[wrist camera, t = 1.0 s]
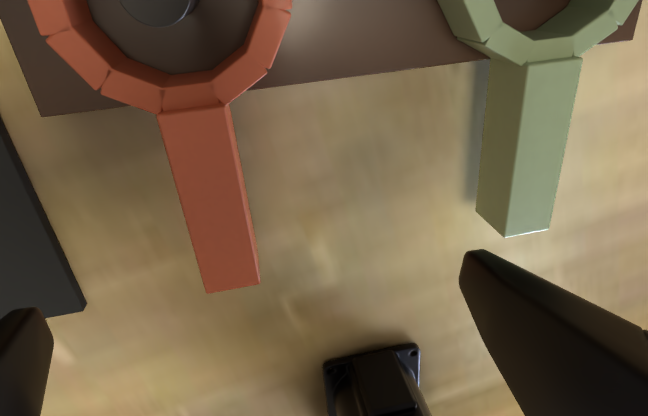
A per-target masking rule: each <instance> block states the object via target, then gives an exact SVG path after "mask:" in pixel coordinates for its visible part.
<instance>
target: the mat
mask: <svg viewBox="0 0 648 416" xmlns="http://www.w3.org/2000/svg"><path fill="white" fill-rule="evenodd" d="M86 304H87V303H86V301H85V299H84V297H83V295H82V292H81V290H80V288H79V286H78V284H77V282H76V280H75V277H74V275H73V273H72V271H71V269H70V267H69V264H68V262H67V260H66V258H65V256H64V254H63V252H62V249H61V247H60V245H59V243H58V241H57V239H56V237H55V234H54V232H53V230H52V228H51V226H50V224H49V221H48V219H47V217H46V215H45V213H44V211H43V209H42V206H41V204H40V202H39V200H38V198H37V196H36V193H35V191H34V189H33V187H32V185H31V183H30V181H29V178H28V176H27V174H26V172H25V170H24V168H23V165H22V163H21V161H20V159H19V157H18V155H17V153H16V150H15V148H14V146H13V144H12V142H11V140H10V137H9V135H8V133H7V131H6V129H5V127H4V125H3V122H2V120H1V118H0V319H1V318H3V317H4V316H5V315H6V314H8V313H9V312H10V311H12V310H15V309H20V308H28V307H37V308H39V309H40V310H41V312H42V314H43V316H44V318H49V317H54V316H59V315H65V314H70V313H75V312H81V311H84V309H85V306H86Z"/></svg>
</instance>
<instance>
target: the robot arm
mask: <svg viewBox="0 0 648 416" xmlns="http://www.w3.org/2000/svg"><path fill="white" fill-rule="evenodd" d="M459 286H460V289H461V291H462V294H463V296H464V298H465V301H466V303H467V305H468V307H469V310H470V312H471V314H472V317H473V319H474V321H475V324H476V326H477V328H478V330H479V333H480V335H481V337H482V339H483V341H484V344H485V346H486V347H487V349H488V351H489V353H490V355H491V357H492V358H493V360H494V362H495V364H496V365H497V367H498V369H499V371H500V372H501V374H502V376H503V378H504V379H505V381H506V383H507V385H508V387H509V388H510V390H511V392H512V394H513V395H514V397H515V399H516V401H517V402H518V404H519V406H520V408H521V409H522V411H523V413H524V415H525V416H648V331H647V330H642V328H641V327H639V326H637V325H635V324H633V323H631V322H629V321H627V320H625V319H623V318H621V317H619V316H617V315H615V314H613V313H611V312H609V311H607V310H605V309H603V308H601V307H599V306H597V305H595V304H593V303H591V302H589V301H587V300H585V299H583V298H581V297H579V296H577V295H575V294H573V293H571V292H569V291H567V290H565V289H563V288H561V287H559V286H557V285H555V284H553V283H551V282H549V281H547V280H545V279H543V278H541V277H539V276H537V275H535V274H533V273H531V272H529V271H527V270H525V269H523V268H521V267H519V266H517V265H515V264H513V263H511V262H509V261H507V260H505V259H503V258H501V257H499V256H497V255H495V254H493V253H491V252H489V251H486V250H484V249H479V250H471V251H468V252H466V253H465V255H464V258H463V263H462V267H461V271H460V275H459ZM53 347H54V340H53V336H52V333H51V331H50V329H49V327H48V324H47V322H46V320H45V318H44V316H43V314H42V312H41V310H40V309H39V308H37V307H28V308H20V309H15V310H12V311H10V312H9V313H8V314H6V315H5V316H4V317H3V318H1V319H0V416H40V414H41V410H42V405H43V399H44V394H45V389H46V384H47V379H48V373H49V368H50V363H51V358H52V352H53ZM331 368H332V369H331ZM322 369H323V377H324V385H325V393H326V401H327V409H328V416H432V415H431V413H430V411H429V408H428V406H427V404H426V402H425V400H424V398H423V396H422V393H421V391H420V389H419V377H420V349H419V347H418V345H417V344H415V343H410V344H406V345H401V346H396V347H392V348H387V349H383V350H378V351H373V352H369V353H364V354H359V355H355V356H350V357H345V358H341V359H336V360H332V361H328V362H326V363H324V365H323V367H322Z"/></svg>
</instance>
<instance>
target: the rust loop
mask: <svg viewBox="0 0 648 416" xmlns="http://www.w3.org/2000/svg"><path fill="white" fill-rule="evenodd" d="M27 1H28V4H29V6H30V9H31V12H32V14H33V17H34V19H35V22H36V25H37V27H38V30H39V33H40V35H41V36H48V35H50V36H49V37H48V38H47V39H46V43H47V44H48V45H49V46H50V47H51V48H52V49H53V50H54V51H55V52H56V53H57V54H58V55H59V56H60V57H62V58H63V59H64V60H65V61H66V62H67V63H68V64H69V65H70V66H71V67H72V68H73V69H74V70H75V71H76V72H77V73H78V74H79V75H80V76H81V77H82V78H83V79H84V80H85V81H86V82H87V83H88V84H89V85H90V86H91V87H92V88H93V89H94V90H99V89H100V88H101V87H102V88H101V92H100V93H101V95H104V96H106V97H109V98H112V99H115V100H117V101H120V102H123V103H126V104H129V105H131V106H134V107H137V108H140V109H142V110H145V111H148V112H151V113H154V114H156V115H157V116H156V118H157V121H158V125H159V128H160V132H161V135H162V139H163V142H164V146H165V149H166V153H167V157H168V160H169V164H170V167H171V171H172V174H173V178H174V181H175V185H176V188H177V192H178V195H179V199H180V203H181V206H182V210H183V213H184V217H185V220H186V224H187V227H188V231H189V234H190V238H191V241H192V245H193V248H194V252H195V256H196V259H197V263H198V266H199V270H200V273H201V277H202V280H203V284H204V287H205V291H206V293H207V294H209V293H214V292H220V291H225V290H230V289H236V288H241V287H246V286H252V285H257V284H260V282H261V280H260V270H259V259H258V249H257V244H256V239H255V234H254V229H253V224H252V219H251V214H250V208H249V203H248V198H247V193H246V188H245V183H244V178H243V173H242V167H241V162H240V157H239V152H238V147H237V142H236V137H235V132H234V126H233V121H232V116H231V111H230V106H229V103H231V102H232V101H233V100H234V99H236V98H237V97H238V96H239V95H241V94H242V93H243V92H244V91H246V90H247V89H248V88H250V87H251V86H252V85H253V84H255V83H256V82H257V81H258V80H260V79H261V78H262V77H263V76H265V75H266V74H267V71H266V68H268V69H270V68H271V67H272V64H273V61H274V59H275V56H276V54H277V51H278V48H279V46H280V43H281V41H282V38H283V36H284V33H285V30H286V28H287V25H288V23H289V20H290V18H291V13H290V12H288V11H286V10H288V9H292V0H258V6H257V9H256V12H255V14H254V17H253V20H252V23H251V26H250V28H249V31H248V34H247V37H246V40H245V42H244V45H242V46H241V47H240V48H239V49H237V50H236V51H235V52H234V53H232V54H231V55H230V56H229V57H228V58H226V59H225V60H224V61H223V62H221V63H220V64H219V65H218V66H216V67H215V68H214V69H213V70H207V71H199V72H191V73H183V74H175V75H170V74H167V73H164V72H162V71H159V70H157V69H154V68H152V67H149V66H147V65H144V64H142V63H139V62H137V61H134V60H132V59H129V58H127V57H126V56H125V55H124V54H123V53H122V52H121V51H120V50H119V48H118V47H117V46H116V45H115V44H114V43H113V42H112V41H111V40H110V39H109V38H108V37H107V36H106V34H105V33H104V32H103V31H102V30H101V29H100V28H99V27H98V26H97V25H96V24H95V23H94V22H93V20H92V17H91V14H90V11H89V7H88V4H87V1H86V0H27Z"/></svg>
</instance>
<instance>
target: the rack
mask: <svg viewBox="0 0 648 416" xmlns="http://www.w3.org/2000/svg"><path fill="white" fill-rule="evenodd" d="M86 1H87V4H88V7H89V11H90V14H91V17H92V20H93V22H94V23H95V24H96V25H97V26H98V27H99V28H100V29H101V30H102V31H103V32H104V33H105V34H106V36H107V37H108V38H109V39H110V40H111V41H112V42H113V43H114V44H115V45H116V46H117V47H118V48H119V50H120V51H121V52H122V53H123V54H124V55H125V56H126V57H127V58H129V59H132V60H134V61H137V62H139V63H142V64H144V65H147V66H149V67H152V68H154V69H157V70H159V71H162V72H164V73H167V74H170V75H175V74H183V73H191V72H199V71H207V70H213V69H214V68H215V67H216V66H218V65H219V64H220V63H221V62H223V61H224V60H225V59H226V58H228V57H229V56H230V55H231V54H232V53H234V52H235V51H236V50H237V49H239V48H240V47H241V46H242V45H244V42H245V40H246V37H247V34H248V31H249V28H250V26H251V23H252V20H253V17H254V14H255V12H256V9H257V6H258V0H86ZM570 1H571V0H494V2H495V5H496V7H497V10H498V12H499V14H500V17H501V19H502V22H504V23H505V24H507V25H509V26H510V27H512V28H514V29H515V30H517V31H519V32H524V31H532V30H536V29H537V28H539V27H540V26H542V25H543V24H544V23H546V22H547V21H548V20H550V19H551V18H553V17H554V16H555V15H557V14H558V13H559V12H561V11H562V10H563V9H565V8H566V7H567V6H568V4H569V2H570ZM641 4H642V0H639V1H638V2H637V4H636V5H635V7H634V8H633V10H632V11H631V13H630V14H629V16H628V17H627V19H626V20H625V22H624V23H623V25H617V26H618V29H617V30H616V31H614V32H613V33H611V34H610V35H609V36H607V37H606V38H604V39H603V40H602V41H600V42H599V43H597V44H596V45H600V44H607V43H615V42H623V41H630V40H632V39H633V36H634V32H635V28H636V24H637V20H638V16H639V12H640V8H641ZM286 11H288V12H290V13H291V18H290V20H289V23H288V25H287V28H286V30H285V33H284V36H283V38H282V41H281V43H280V46H279V48H278V51H277V54H276V56H275V59H274V61H273V64H272V67H271V68H270V69H268V68H266V71H267V74H266V75H265V76H263V77H262V78H261V79H260V80H258V81H257V82H256V83H255V84H253V85H252V86H251V87H250V88H248V89H247V90H246V91H248V90H255V89H263V88H270V87H278V86H286V85H293V84H301V83H309V82H316V81H324V80H332V79H339V78H347V77H355V76H362V75H370V74H378V73H385V72H393V71H401V70H408V69H416V68H424V67H431V66H439V65H446V64H454V63H462V62H469V61H477V60H485V59H491V58H490V57H488V56H487V55H485V54H483V53H481V52H479V51H478V50H476V49H474V48H472V47H470V46H468V45H467V44H465V43H463V42H461V41H459V40H458V39H457V36H454V34H453V32H452V30H451V28H450V26H449V24H448V22H447V20H446V18H445V16H444V13H443V11H442V9H441V7H440V5H439V3H438V1H437V0H292V9H288V10H286ZM0 19H1V21H2V24H3V26H4V28H5V31H6V33H7V36H8V38H9V40H10V43H11V45H12V48H13V50H14V52H15V55H16V57H17V60H18V62H19V64H20V67H21V69H22V72H23V74H24V76H25V79H26V81H27V84H28V86H29V88H30V91H31V93H32V96H33V98H34V100H35V103H36V105H37V108H38V110H39V112H40V115H41V117H49V116H56V115H64V114H71V113H79V112H87V111H94V110H102V109H110V108H117V107H125V106H131V105H129V104H126V103H123V102H120V101H117V100H115V99H112V98H109V97H106V96H104V95H101V93H100V92H101V88H102V87H101V88H100V89H99V90H94V89H93V88H92V87H91V86H90V85H89V84H88V83H87V82H86V81H85V80H84V79H83V78H82V77H81V76H80V75H79V74H78V73H77V72H76V71H75V70H74V69H73V68H72V67H71V66H70V65H69V64H68V63H67V62H66V61H65V60H64V59H63V58H62V57H60V56H59V55H58V54H57V53H56V52H55V51H54V50H53V49H52V48H51V47H50V46H49V45H48V44H47V43H46V39H47V38H48V37H49V36H50V35H48V36H41V35H40V33H39V30H38V27H37V25H36V22H35V19H34V17H33V14H32V12H31V9H30V6H29V4H28V1H27V0H0Z"/></svg>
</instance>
